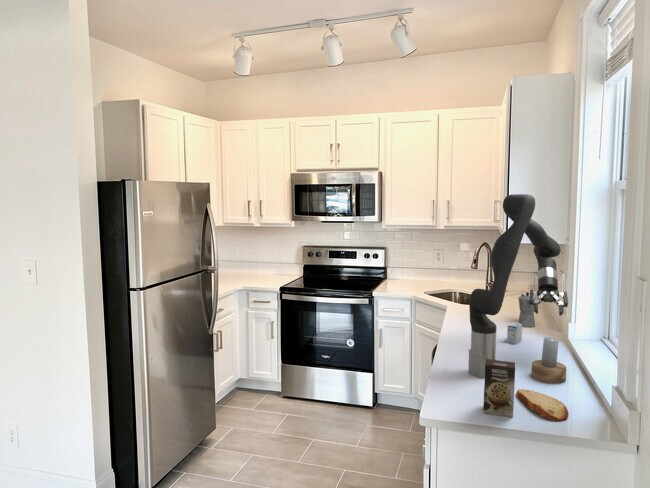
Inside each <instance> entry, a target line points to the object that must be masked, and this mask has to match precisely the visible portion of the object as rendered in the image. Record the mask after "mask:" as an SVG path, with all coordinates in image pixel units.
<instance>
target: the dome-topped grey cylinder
mask: <svg viewBox="0 0 650 488" xmlns="http://www.w3.org/2000/svg"><path fill="white" fill-rule="evenodd" d="M559 343H560V340H559V339H558V338H555V337H551V336H550V337H549V336H545V337H543V342H542V351H541V352H542V354H541V360H542V361H541V364H542V365H544V366H547V367H556V364H557V362H558V352H559V345H560V344H559Z"/></svg>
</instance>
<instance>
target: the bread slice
mask: <svg viewBox="0 0 650 488" xmlns="http://www.w3.org/2000/svg"><path fill="white" fill-rule="evenodd" d="M515 397H516V398H517V399H518V400H519V401H520V402H521V403H522V404H523V405H524V406H525V407H526V408H528V410H529V411H532V412H533V413H535V414H536V415H537V416H540V417H542V418H544V419H546V420H549V421H551V422H555V423H562V422H566V421H567V420H568V417H569V411H568V408H567V406H566V405H565V404H564V402H562V401H560V400H558V399H557V398H555V397H553V396H552V397H551V396H549V395H547V394H544V393H541V392H538V391H534V390H529V389H522V388H519V389H517V390H516V393H515Z"/></svg>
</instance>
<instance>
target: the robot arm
mask: <svg viewBox="0 0 650 488" xmlns="http://www.w3.org/2000/svg"><path fill="white" fill-rule="evenodd" d="M535 208H536V198H535V196H533V195H532V194H528V193H527V194H523V193H522V194H521V193H520V194H519V193H518V194H516V193H515V194H514V193H513V194H507V195H506V196H505V197H504V199H503V201H502V209H503V212H504V214H505V216H507V217H508V218H509V219H510V220H511V221H512V222H513V223H512V224H511V225H510V226H509V228H507V229H506V230H505V231H504V232H503V233H502V234H501V235H500V236H499V237H498V238H496V240H495V242H494V244H493V247H492V250H491V253H490V255H489V260H490V265H491V269H492V273H493V281H492V282H493V283H492V286H491V289H490V290H489V289H484V288H475V289H474V290H472V292H471V294H470V297H469V305H468V306H469V307H468V308H469V322H470V323H469V324H470V329H471V331H470V332H471V333H470V334H471V335H470V349H469V350H468V372H467V373H468V374H469V375H472V376H474V377H477V378H479V379H485V362H486V359H491V360H496V358H497V356H496V354H497V353H496V352H497V351H496V350H497V324H496V323H495V322H494V321H492V320H491V319H490V318H489V317H488V316H487V315H489V316H495V315H496V316H497V314H499V312H500V311H501V308H502V306H503V303H504V299H505V294H506V291H507V286H508V282H509V279H510V276H511V272H512V270H513V266H514V264H515V261H516V258H517V255H518V253H519V249H520V247H521V243H522V240H523V238H524V234H525V235H526V237H527V238H528V239H529V241H530V243H531V244H532V245H533V246H534V247H533V253H534V256H535V259H536V261H537V265H538V269H537V270H538V273H537V291H536V290H535V291H534V289H530V290H529V296H530V299H529V304H530V305H534V313H535V314H536V315H538V314H539V304H542V303H554V304H555V305H556V306H558V315H559V316H561V317H562V316H563V315H564V311H565V310H564V308H568V307H569V299H568V298H569V297H568V292H567V291H563V292H560V291H559V283H558V282H559V281H558V280H559V279H558V277H559V276H558V274H557V273H558V272H557V262H556V260H555V259H554V258H555V257H558V256H560V253H561V246H560V245H559V243H558V242H557V241H556V240H555V239H554V238H552V237H551V236H550V235H548V234H547V232H546V230H545V229H544V227H543V226H542V225H541V224H540V223H539V222H538V221H535V220H534V219H532V217H533V214H534V212H535V210H536V209H535ZM536 296H537V297H536ZM533 297H534V298H535V297H536V300H535V301H533ZM560 297H561V299H563V301H562V300H561V299H560Z"/></svg>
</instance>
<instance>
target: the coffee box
mask: <svg viewBox="0 0 650 488" xmlns="http://www.w3.org/2000/svg"><path fill="white" fill-rule="evenodd" d="M515 382H516V363H515V362H514V361H507V360H500V359H499V360H497V359H495V360H491V359H486V362H485V378H484V384H483V385H484V388H483V407H482V409H483V410H482V413H484V414H489V415H495V416H500V417H506V418H507V417H508V418H514V406H515V405H514V403H515V402H514V401H515V385H516V383H515Z"/></svg>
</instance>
